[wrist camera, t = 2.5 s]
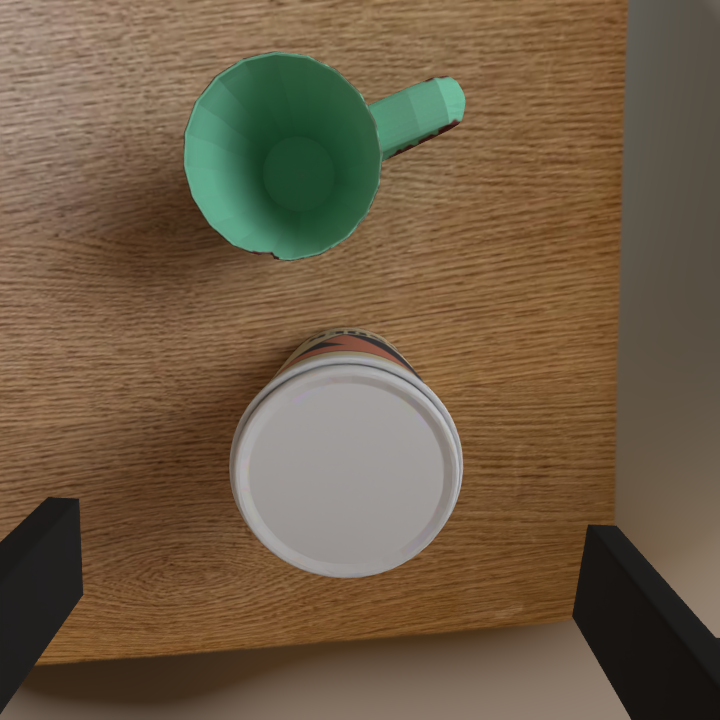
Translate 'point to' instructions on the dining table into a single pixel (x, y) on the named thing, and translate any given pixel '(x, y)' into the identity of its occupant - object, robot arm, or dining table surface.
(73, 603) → the robot arm
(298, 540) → the coffee cup
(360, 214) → the mug
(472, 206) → the dining table surface
